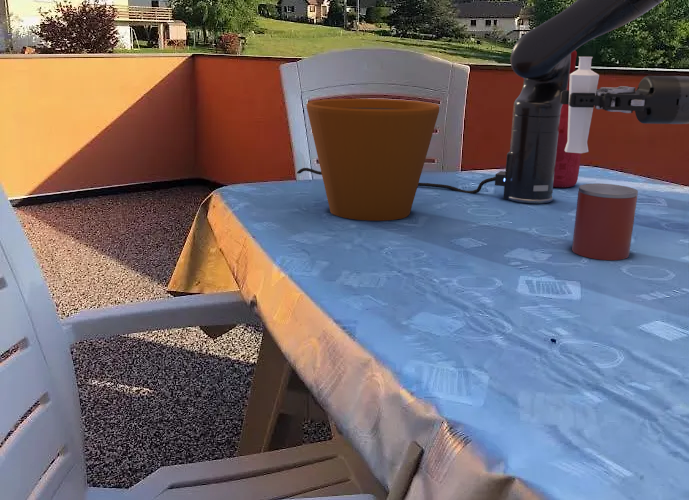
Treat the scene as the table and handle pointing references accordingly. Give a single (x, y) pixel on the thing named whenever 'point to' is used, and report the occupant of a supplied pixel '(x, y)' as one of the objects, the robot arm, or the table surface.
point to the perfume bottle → (580, 116)
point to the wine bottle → (565, 161)
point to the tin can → (604, 221)
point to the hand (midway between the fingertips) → (566, 98)
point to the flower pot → (371, 153)
